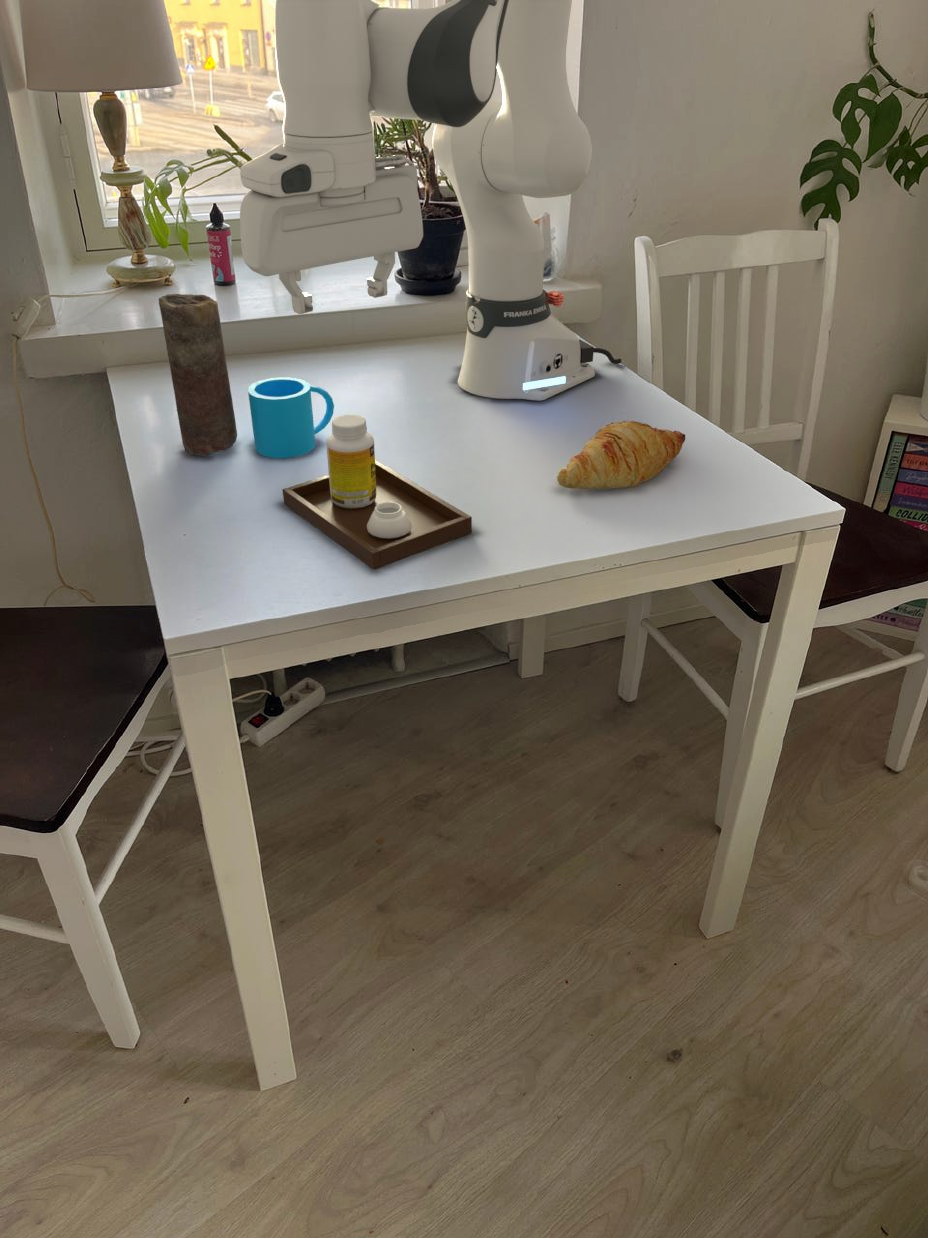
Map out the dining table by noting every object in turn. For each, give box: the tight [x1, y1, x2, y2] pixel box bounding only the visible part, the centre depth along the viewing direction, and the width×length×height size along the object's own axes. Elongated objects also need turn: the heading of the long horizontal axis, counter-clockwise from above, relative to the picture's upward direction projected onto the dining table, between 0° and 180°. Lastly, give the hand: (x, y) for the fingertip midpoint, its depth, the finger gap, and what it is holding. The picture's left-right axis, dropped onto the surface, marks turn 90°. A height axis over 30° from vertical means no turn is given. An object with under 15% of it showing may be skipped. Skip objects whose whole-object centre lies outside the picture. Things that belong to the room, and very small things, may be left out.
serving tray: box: [281, 459, 473, 571], centre depth 114 cm, size 14×20×2 cm
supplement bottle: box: [325, 414, 376, 509], centre depth 114 cm, size 6×6×10 cm
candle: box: [158, 293, 238, 457], centre depth 126 cm, size 8×7×20 cm
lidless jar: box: [367, 502, 412, 539], centre depth 110 cm, size 5×3×5 cm
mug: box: [247, 376, 335, 459], centre depth 130 cm, size 12×8×8 cm
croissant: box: [556, 420, 686, 490], centre depth 123 cm, size 21×10×8 cm, turn 126°
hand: (341, 303), depth 104 cm, fingers open, 8 cm apart
